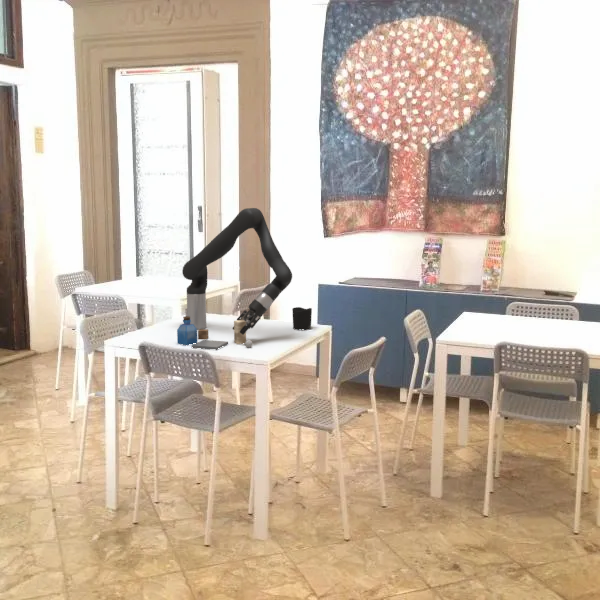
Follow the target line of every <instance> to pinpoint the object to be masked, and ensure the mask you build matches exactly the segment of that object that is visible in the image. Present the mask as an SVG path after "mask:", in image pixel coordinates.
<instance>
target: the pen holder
mask: <svg viewBox="0 0 600 600" xmlns="http://www.w3.org/2000/svg"><path fill="white" fill-rule="evenodd" d="M312 310H313V309H312V307H309V308H304V307H301V306H297V307H293V308H292V310H291V311H292V328H293V329H294V328H295V329H309V330H311V328H312ZM295 329H294V330H295Z"/></svg>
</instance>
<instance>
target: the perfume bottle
mask: <svg viewBox="0 0 600 600" xmlns="http://www.w3.org/2000/svg"><path fill="white" fill-rule="evenodd" d="M190 322H191V319H190V317H189V316H186V315H185V316H183V319H182V323H181V324H180V325H179V326H178V328H177V331H176V336H177V338H176V339H177V344H178V345H181V344H183V345H182V346H186V345H187V346H190V345H189V344H192V345H193V343H198V329H196V327H195V326H194V324H190Z"/></svg>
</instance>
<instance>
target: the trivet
mask: <svg viewBox="0 0 600 600" xmlns="http://www.w3.org/2000/svg"><path fill="white" fill-rule="evenodd" d="M227 344H228V345H229V341H227V340H226V341H225V340H224V341H223V340H211V339H209V340H208V339H201V340H200V341H197V343H196V344H192V345H190V346H191V348H192V347H193V348H192V349H197V348H201V349H200V350H210V349H218V348H220V347H222V346H224V347H225V345H226V346H228V345H227ZM203 348H205V349H203ZM222 348H223V347H222ZM220 349H221V348H220ZM218 350H219V349H218Z"/></svg>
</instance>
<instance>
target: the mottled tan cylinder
mask: <svg viewBox="0 0 600 600" xmlns="http://www.w3.org/2000/svg"><path fill="white" fill-rule="evenodd" d="M245 324H246V321H244V320H237V319H236V320H233V327H234V330H233V332H234V333H233V334H234V335H233V337H234V339H233V342H235V343H234V344H236V343H237V344H236V345H244V344H243V343H245V342H246V341H247V331H246V332H245V334H244V335H242V334H241V333H240V330H241V329H242V328H243V327H244V326H246V325H245Z"/></svg>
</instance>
